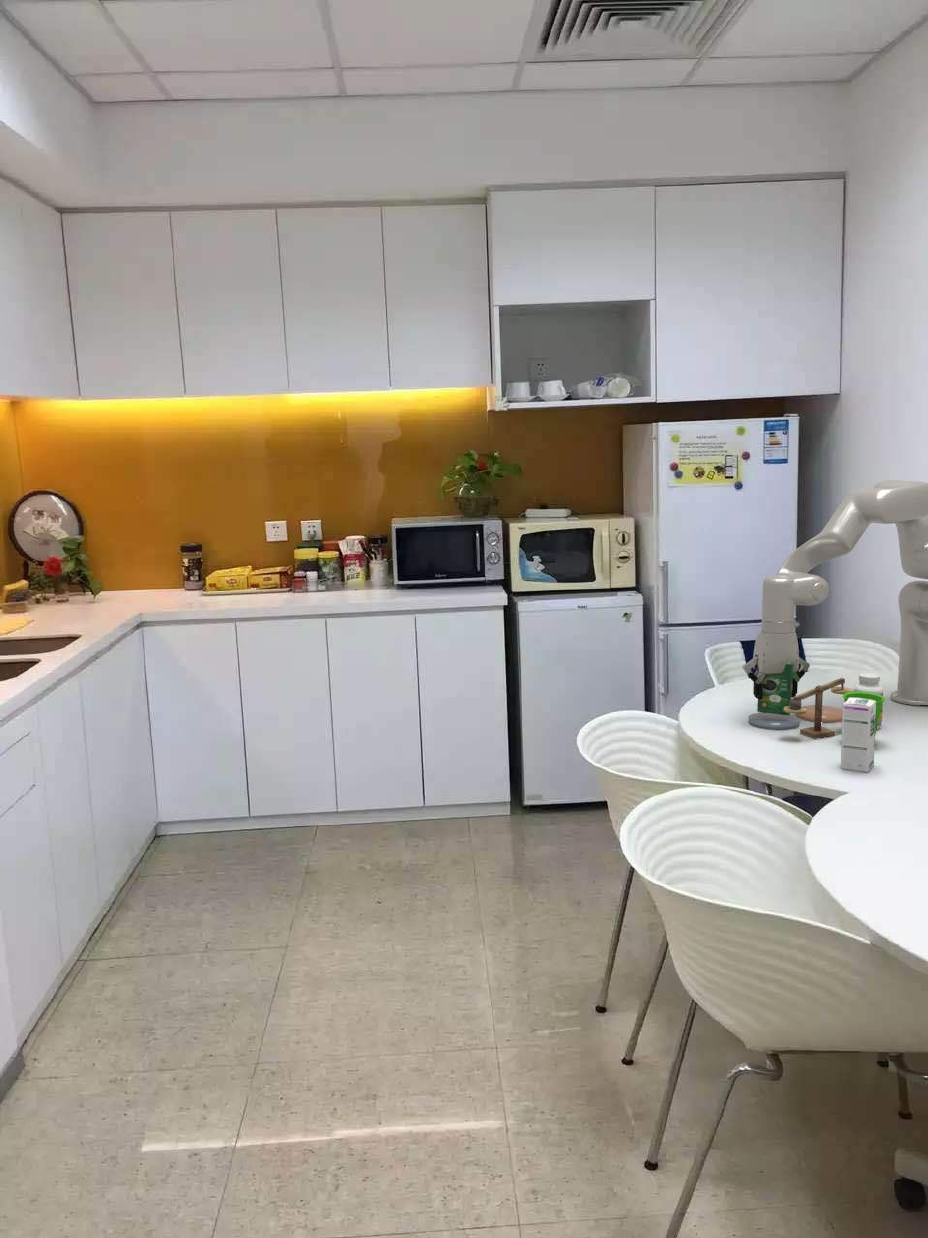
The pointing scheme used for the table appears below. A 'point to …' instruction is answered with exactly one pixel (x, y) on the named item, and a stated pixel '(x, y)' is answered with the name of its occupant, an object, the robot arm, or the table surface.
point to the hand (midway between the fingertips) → (775, 697)
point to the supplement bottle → (870, 688)
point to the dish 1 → (773, 721)
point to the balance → (816, 707)
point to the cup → (866, 695)
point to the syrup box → (858, 734)
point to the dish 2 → (828, 714)
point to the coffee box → (776, 691)
